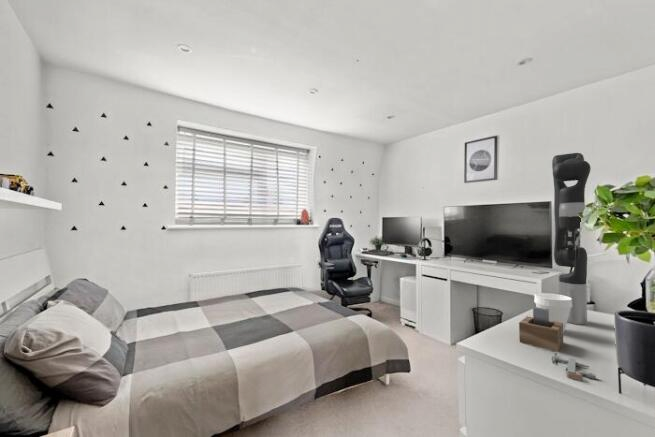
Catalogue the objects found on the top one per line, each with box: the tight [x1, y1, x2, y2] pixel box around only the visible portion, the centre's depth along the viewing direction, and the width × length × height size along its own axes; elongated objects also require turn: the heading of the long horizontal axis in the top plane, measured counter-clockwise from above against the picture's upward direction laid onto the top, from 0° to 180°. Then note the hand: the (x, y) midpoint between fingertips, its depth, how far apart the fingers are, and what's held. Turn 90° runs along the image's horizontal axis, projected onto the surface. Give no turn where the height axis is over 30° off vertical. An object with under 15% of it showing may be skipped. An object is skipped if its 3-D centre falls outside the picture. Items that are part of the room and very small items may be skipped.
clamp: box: [551, 351, 597, 382], centre depth 85 cm, size 15×2×10 cm
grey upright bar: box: [532, 306, 549, 327], centre depth 105 cm, size 4×4×12 cm
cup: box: [533, 292, 572, 334], centre depth 117 cm, size 12×12×14 cm
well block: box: [518, 315, 564, 353], centre depth 104 cm, size 11×11×7 cm
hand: (573, 259), depth 105 cm, fingers open, 8 cm apart
